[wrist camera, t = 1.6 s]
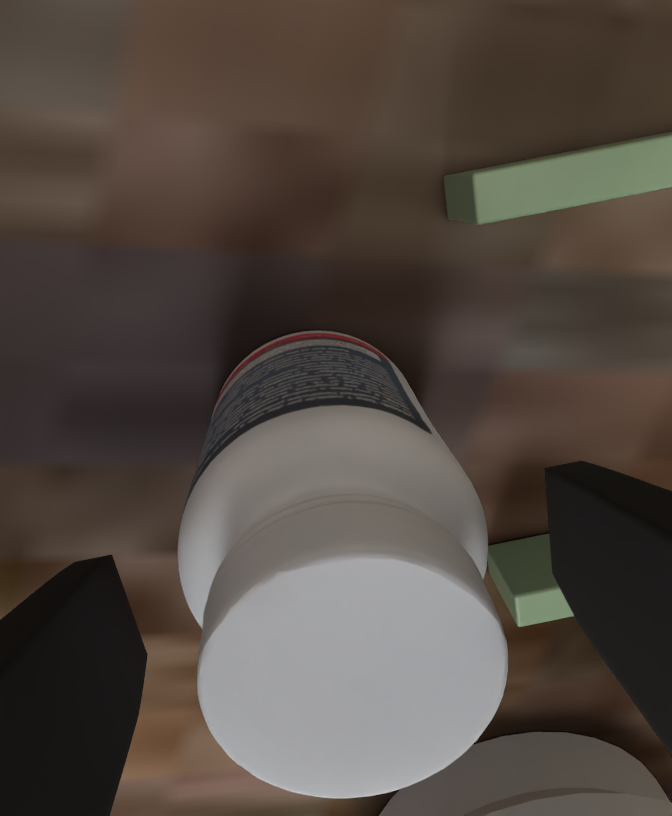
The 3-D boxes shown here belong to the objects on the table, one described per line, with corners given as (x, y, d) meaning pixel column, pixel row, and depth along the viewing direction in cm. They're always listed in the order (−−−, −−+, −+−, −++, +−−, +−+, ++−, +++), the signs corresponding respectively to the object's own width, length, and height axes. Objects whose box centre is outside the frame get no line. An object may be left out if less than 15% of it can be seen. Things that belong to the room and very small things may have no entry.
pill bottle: (169, 411, 16) (40, 664, 7) (336, 283, 15) (402, 402, 7) (299, 552, 17) (314, 890, 9) (454, 443, 17) (628, 700, 8)
